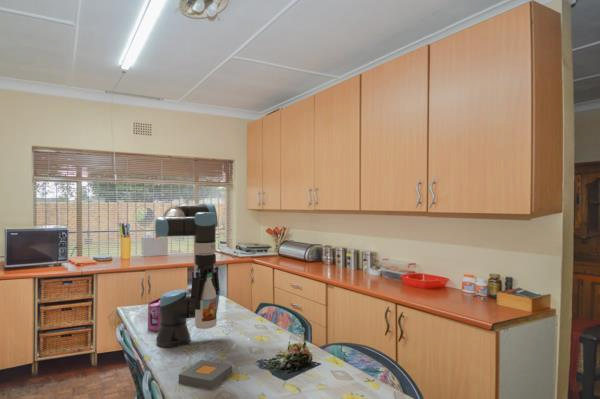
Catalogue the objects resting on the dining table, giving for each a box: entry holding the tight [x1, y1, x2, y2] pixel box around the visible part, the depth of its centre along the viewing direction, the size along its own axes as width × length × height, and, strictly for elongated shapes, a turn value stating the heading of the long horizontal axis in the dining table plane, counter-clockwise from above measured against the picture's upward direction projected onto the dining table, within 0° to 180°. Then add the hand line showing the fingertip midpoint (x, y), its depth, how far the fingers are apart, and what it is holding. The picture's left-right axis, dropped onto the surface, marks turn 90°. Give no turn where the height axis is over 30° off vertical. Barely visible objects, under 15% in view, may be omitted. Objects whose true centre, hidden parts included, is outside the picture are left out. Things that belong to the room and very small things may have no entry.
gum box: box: [147, 297, 161, 331], centre depth 213 cm, size 24×8×14 cm, turn 169°
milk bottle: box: [194, 272, 218, 330], centre depth 149 cm, size 8×8×20 cm
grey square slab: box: [178, 359, 233, 390], centre depth 149 cm, size 14×14×3 cm
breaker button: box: [195, 365, 217, 375], centre depth 149 cm, size 6×6×2 cm
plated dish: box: [254, 336, 322, 382], centre depth 164 cm, size 35×28×7 cm
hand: (205, 314), depth 149 cm, fingers closed on milk bottle, 8 cm apart
